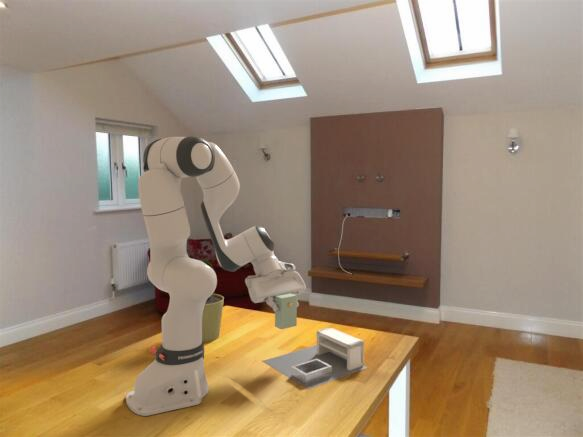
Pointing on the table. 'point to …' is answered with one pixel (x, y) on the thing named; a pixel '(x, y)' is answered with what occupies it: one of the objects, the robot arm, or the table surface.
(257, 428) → the table surface
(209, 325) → the potted cactus
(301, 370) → the hollow rectangular frame
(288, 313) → the tall mint green pillar
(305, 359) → the gray base with shelf
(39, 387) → the table surface
